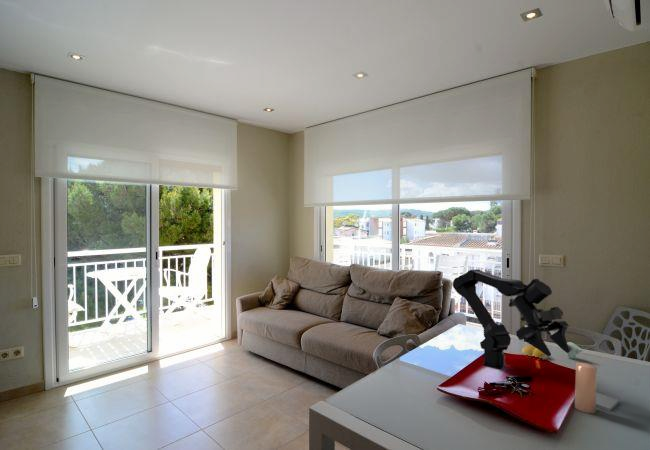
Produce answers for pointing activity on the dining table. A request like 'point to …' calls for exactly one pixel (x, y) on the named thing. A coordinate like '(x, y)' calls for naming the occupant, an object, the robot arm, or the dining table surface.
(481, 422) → the dining table surface
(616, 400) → the slate coaster
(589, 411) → the peach pillar candle
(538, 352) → the bread roll
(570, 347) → the pale green rounded piece
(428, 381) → the dining table surface
